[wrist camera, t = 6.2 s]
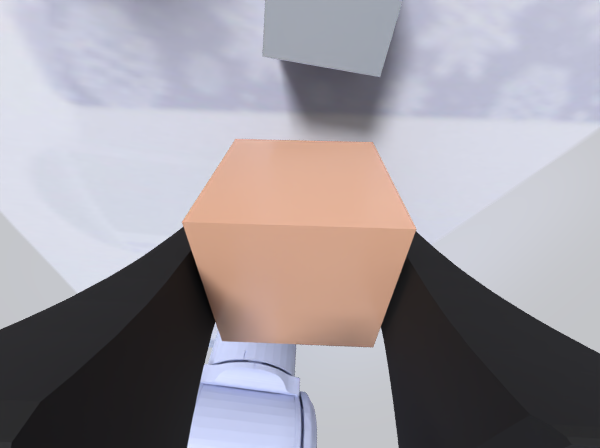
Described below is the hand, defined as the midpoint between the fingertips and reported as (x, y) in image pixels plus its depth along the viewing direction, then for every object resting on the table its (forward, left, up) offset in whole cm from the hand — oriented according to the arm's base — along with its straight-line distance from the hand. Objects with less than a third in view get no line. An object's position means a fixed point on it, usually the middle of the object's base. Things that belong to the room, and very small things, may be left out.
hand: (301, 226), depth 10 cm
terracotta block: (0, 0, -2) cm, 2 cm away
